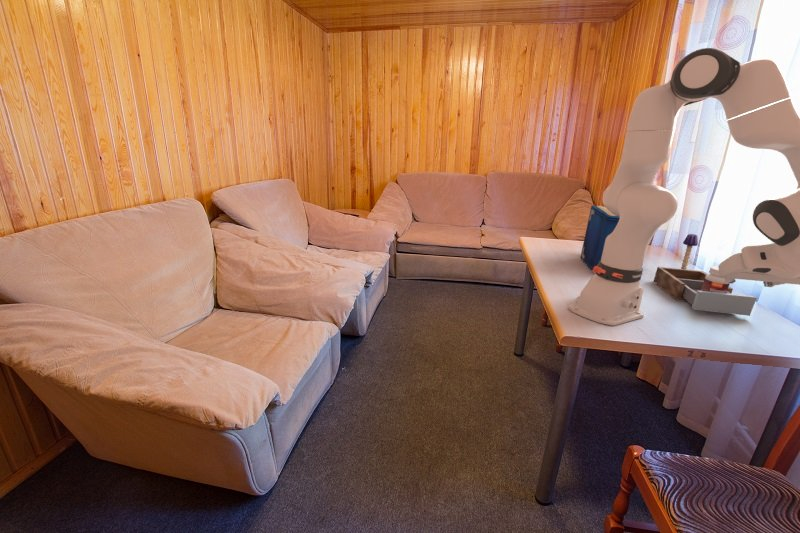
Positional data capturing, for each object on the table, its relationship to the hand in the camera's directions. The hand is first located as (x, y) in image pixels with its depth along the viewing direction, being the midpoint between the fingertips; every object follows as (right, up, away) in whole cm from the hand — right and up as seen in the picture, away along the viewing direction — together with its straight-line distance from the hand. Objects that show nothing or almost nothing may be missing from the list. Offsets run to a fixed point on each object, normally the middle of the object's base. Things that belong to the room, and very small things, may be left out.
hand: (747, 282), depth 102 cm
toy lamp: (+18, +1, +47) cm, 51 cm away
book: (-16, +4, +51) cm, 54 cm away
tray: (+3, -7, +18) cm, 19 cm away
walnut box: (+5, -5, +27) cm, 28 cm away
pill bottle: (+2, -7, +15) cm, 17 cm away
